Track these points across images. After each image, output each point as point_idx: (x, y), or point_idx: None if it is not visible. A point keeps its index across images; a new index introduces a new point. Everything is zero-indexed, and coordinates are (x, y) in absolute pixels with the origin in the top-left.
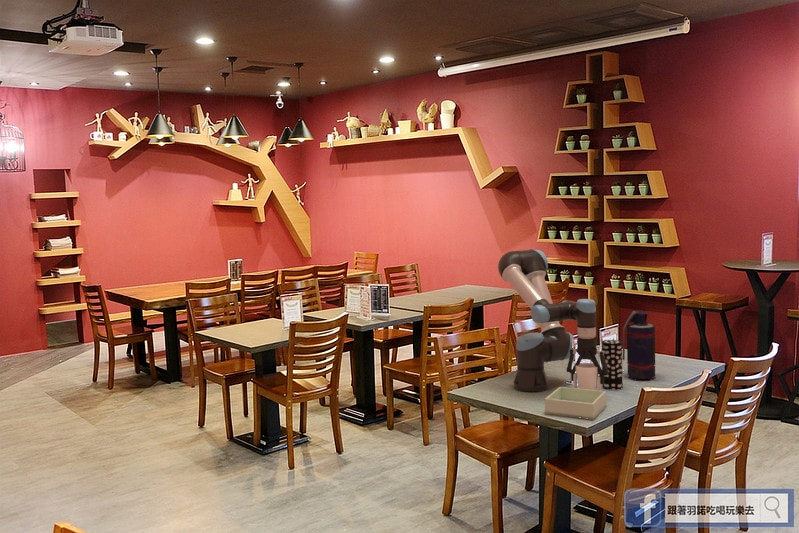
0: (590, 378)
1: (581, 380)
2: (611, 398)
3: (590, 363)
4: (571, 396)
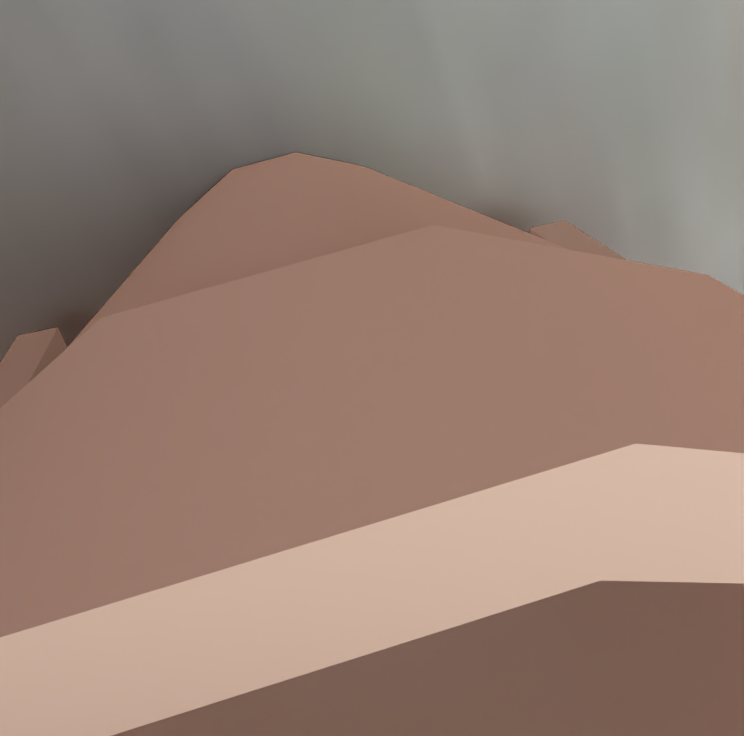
0: (542, 672)
1: (310, 676)
2: (672, 186)
3: (502, 610)
4: None
